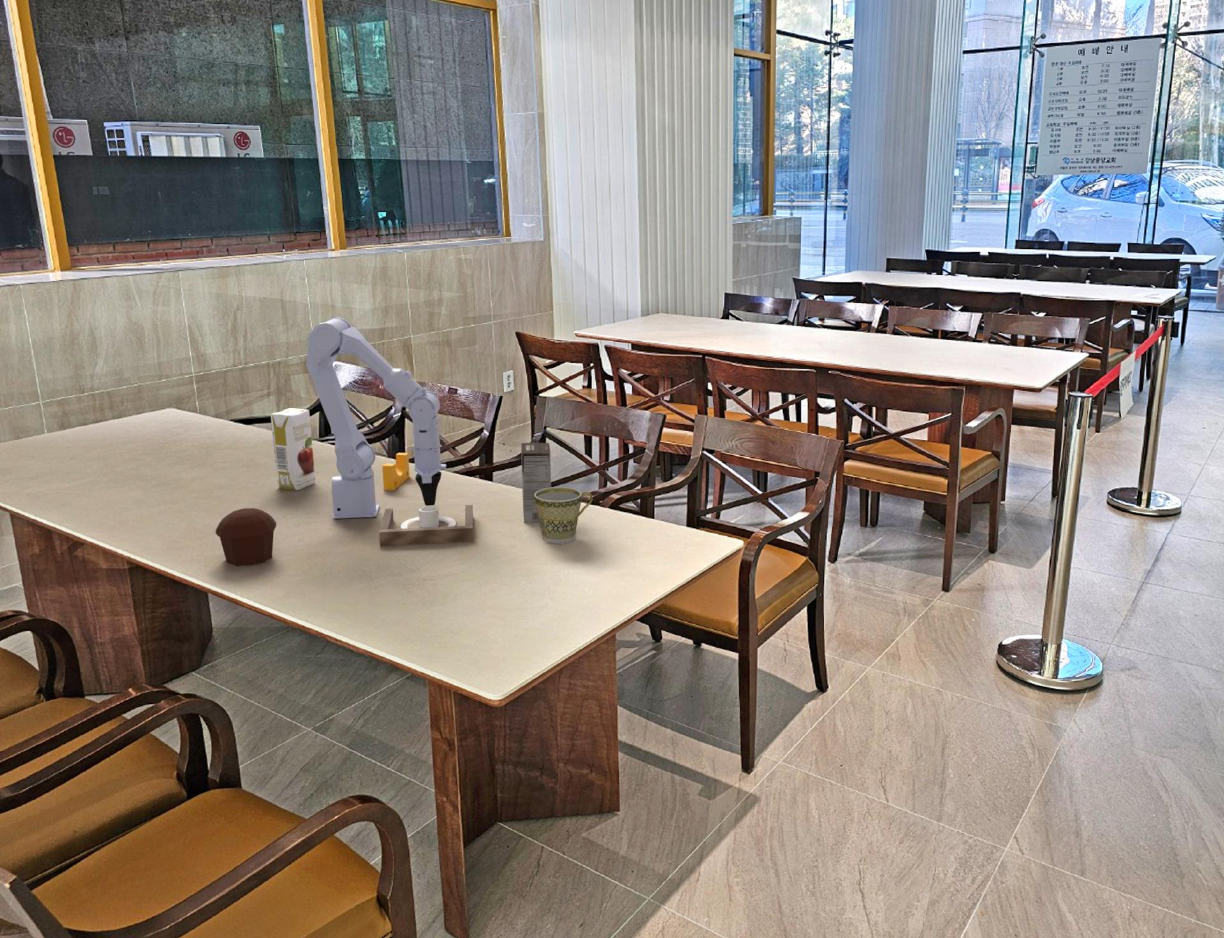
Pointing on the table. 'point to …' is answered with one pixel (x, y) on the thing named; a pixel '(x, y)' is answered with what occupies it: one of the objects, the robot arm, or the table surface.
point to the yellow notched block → (396, 472)
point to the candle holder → (428, 518)
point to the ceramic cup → (559, 512)
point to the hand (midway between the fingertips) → (430, 504)
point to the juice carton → (293, 448)
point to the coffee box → (534, 476)
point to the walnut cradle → (425, 532)
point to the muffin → (247, 536)
